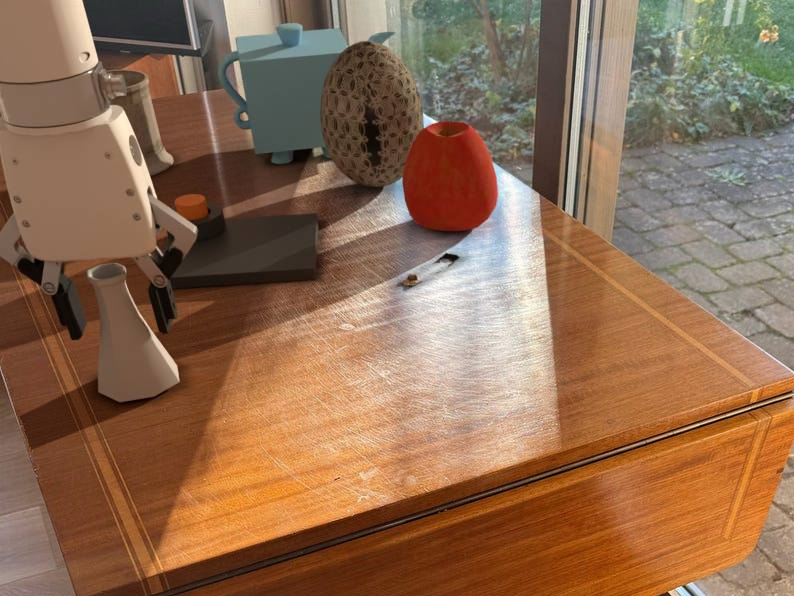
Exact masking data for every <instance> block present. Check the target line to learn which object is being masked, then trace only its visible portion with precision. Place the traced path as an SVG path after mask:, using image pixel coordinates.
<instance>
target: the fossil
mask: <svg viewBox="0 0 794 596" xmlns="http://www.w3.org/2000/svg"><path fill="white" fill-rule="evenodd" d="M460 257H461V256H459V255H458V254H455V253H454V254H453V253H449V252H448V253H447V252H445V253H444V254H443V255H442V256H441V257H439V258H438V259H437V260H435V261H434V262H433V263H432V264H433V265H434V264H440V263H441V261H442V260H448V262H451V264H448V267H450V266H452V265H453V264H454V263H455V262H456V261H457V260H459V259H460ZM440 272H442V271H438V272H437V271H436V274H438V273H440ZM419 279H421V278H420V277H419V278H418V274H416V273H413V272H412V273H409V274H408V276H407V277H406V279H403V280H401V283H402V284H403V285H404V286H405V285H406V286H415V285H418V284H419V283H422V282H423V280H421V281H419ZM424 281H425V280H424Z"/></svg>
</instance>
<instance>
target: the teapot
mask: <svg viewBox="0 0 794 596" xmlns="http://www.w3.org/2000/svg"><path fill="white" fill-rule="evenodd" d="M275 30H276V33H265V34H254V35H243V36H236V37H235V39H234V40H235V45H236V50H233V51H230V52H229V53H227V54H226V55H224V57H223V58H222V59H221V61H220V62H219V65H218V68H217V76H218V80H219V82H220V85H221V86H222V88H223V89H224V92H226V93H227V95H228V96H229V97H230V98H231V99H232V100H233V101H234V103H236V105H237V106H238V108H236V109H235V111H234V113H233V120H234V123H235V124H236V126H237V127H238V128H239V129H240V130H245V131H246V130H250V131H251V137H252V143H253V149H254V154H255V155H257V154H258V155H259V154H268V153H269V154H270V153H272V155H271V159H270V162H271V163H273V164H276V165H283V164H289V163H291V162H292V161H293V160H294V151H298V150H308V149H317V148H321V150H322V153H323V156H324V157H325V158H327V159H332V158H331V156H330V154H329V152H328V150H327V148H326V145H325V142H324V138H323V133H322V128H321V115H320V110H321V97H322V91H323V86H324V82H325V79H326V77H327V74H328V71H329V70H330V68H331V66H332V64H333V63H334V61H335V60H336V59H337V57H338V56H339V55H340V54H341V53H342V52H343V51H344V50H345V49H346V48H348V47H349V45H348V44H347V41H346V40H345V37H344V35H343V33H342V30H341V29H340V27H338V28H337V27H336V28H324V29H312V30H311V29H310V30H303V25H302V24H299V23H296V22H288V23H282V24H279V25H277V26H275ZM395 34H396V32H395V31H382V32H377V33H374V34H372V35H371V36H370V37H368V39H367V40H366V41H374V42H377V43H380V44H382V45H384V44H385V42H386V41H388V39H390V38H391V37H392V36H394V35H395ZM235 62H238V64H239V69H240V75H241V81H242V87H243V93H244V97H242V96H241V94H240V93H238V91H237V90H236V89H235V88H234V86H233V85H232V84H231V82H230V80H229V79H228V76H227V69H228V68H229V66H230V65H232V64H233V63H235ZM244 98H245V99H244ZM244 113H245V115H246V116H247V118H248V119H247V120H243V119H241V115H242V114H244Z"/></svg>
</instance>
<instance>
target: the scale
mask: <svg viewBox="0 0 794 596" xmlns="http://www.w3.org/2000/svg"><path fill="white" fill-rule="evenodd" d="M206 204H207V209H208V213H209V215H207V216H206V217H204V218H200V219H197V220H188V221H189V222H191V223H192V224H194V225H195V226H196V227H197V229H198V234H197V238H196V240H195V242H194V244H193V245H192V247H191V248H190V250H189V251H188V253H187V254H186V255H185V257H184V259H183V260H182V262H181V264H180V265H179V267H178V268H177V270H176V271H175V272H174V274H173V275H172V276H171V278H170V283H171V287H172V290H176V289H189V288H192V289H193V288H204V287H205V288H206V287H221V286H222V287H223V286H235V285H251V284H252V285H253V284H266V283H282V282H296V281H297V282H298V281H299V282H300V281H312V280H313V281H314V280H316V278H317V266H318V265H317V264H318V247H319V231H320V230H319V229H320V221H319V214H318V213H315V212H313V213H300V214H285V215H284V214H283V215H265V216H251V217H235V218H225V215H224V210H223V208H222V207H221V206H220V205H219V204H217V203H215V202H209V201H206ZM171 209H172V210H174V211H175V212H176V213H177V210H176V206H175V205H174V206H172V207H171ZM165 231H166V234H167V237H166V240H165V242H164V245H163V249H162V251H161V252H162V253H163V254H164V253H165V252H166V250H167V249H168V248H169V246H170V245H171V244H172V243H173V241H174V239H175V238H174V236H173V235H172V234H171V233H170V232H168V231H167V230H165Z"/></svg>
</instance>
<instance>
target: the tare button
mask: <svg viewBox="0 0 794 596" xmlns="http://www.w3.org/2000/svg"><path fill="white" fill-rule="evenodd" d="M206 202H207V199H206V197H205V195H203V194H198V193H190V194H184V195H181V196H178V197H176V199H175V200H174V206H176V210H177V213H178V214H179V215H181V216H182V217H184V218H185V219H186V220H197V219H200V218H204V217H206V216H207V215H209V213H208V209H207V204H206Z"/></svg>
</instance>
